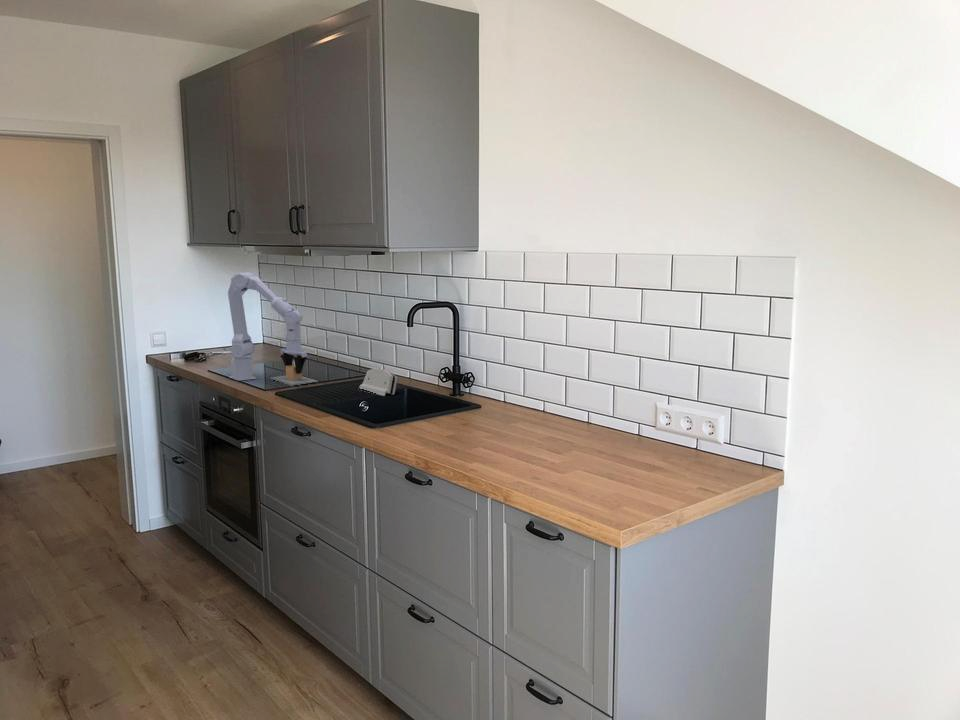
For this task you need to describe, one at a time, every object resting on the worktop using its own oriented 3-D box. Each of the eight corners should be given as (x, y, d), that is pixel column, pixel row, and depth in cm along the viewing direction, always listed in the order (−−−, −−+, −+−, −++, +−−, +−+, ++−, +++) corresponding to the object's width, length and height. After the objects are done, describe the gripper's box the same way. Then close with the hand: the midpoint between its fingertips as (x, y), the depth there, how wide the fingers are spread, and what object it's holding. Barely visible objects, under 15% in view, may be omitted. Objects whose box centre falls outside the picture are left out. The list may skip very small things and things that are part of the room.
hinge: (358, 389, 313) (364, 365, 314) (367, 392, 317) (373, 368, 318) (384, 396, 302) (391, 370, 303) (393, 398, 305) (400, 373, 306)
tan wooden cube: (285, 379, 326) (285, 365, 325) (294, 377, 329) (294, 364, 329) (292, 380, 323) (292, 367, 322) (302, 379, 327) (301, 365, 326)
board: (270, 379, 329) (270, 370, 328) (296, 376, 337) (296, 367, 336) (291, 386, 316) (291, 376, 315) (318, 383, 324) (318, 373, 323)
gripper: (274, 338, 325) (274, 371, 327) (297, 342, 316) (297, 375, 318) (288, 337, 331) (288, 369, 333) (310, 340, 322) (311, 373, 324)
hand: (293, 372), depth 326 cm, fingers open, 6 cm apart
